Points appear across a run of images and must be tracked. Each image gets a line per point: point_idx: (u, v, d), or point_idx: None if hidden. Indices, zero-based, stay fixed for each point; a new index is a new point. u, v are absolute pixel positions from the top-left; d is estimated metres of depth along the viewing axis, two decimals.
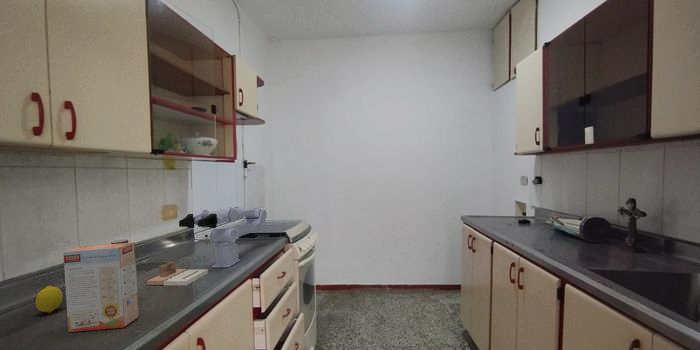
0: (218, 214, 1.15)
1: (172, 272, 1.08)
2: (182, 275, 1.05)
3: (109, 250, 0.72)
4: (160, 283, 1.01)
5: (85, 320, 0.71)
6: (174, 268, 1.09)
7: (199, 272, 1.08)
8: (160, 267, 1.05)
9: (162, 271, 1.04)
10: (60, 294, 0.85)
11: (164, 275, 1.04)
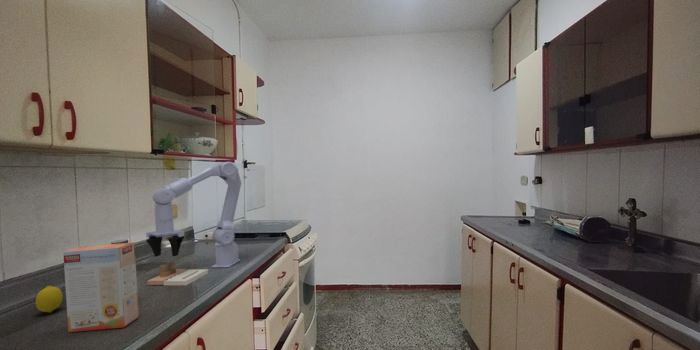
0: (166, 220, 1.05)
1: (172, 272, 1.08)
2: (182, 275, 1.05)
3: (109, 250, 0.72)
4: (160, 283, 1.01)
5: (85, 320, 0.71)
6: (174, 268, 1.09)
7: (199, 272, 1.08)
8: (160, 267, 1.05)
9: (162, 271, 1.04)
10: (60, 294, 0.85)
11: (164, 275, 1.04)
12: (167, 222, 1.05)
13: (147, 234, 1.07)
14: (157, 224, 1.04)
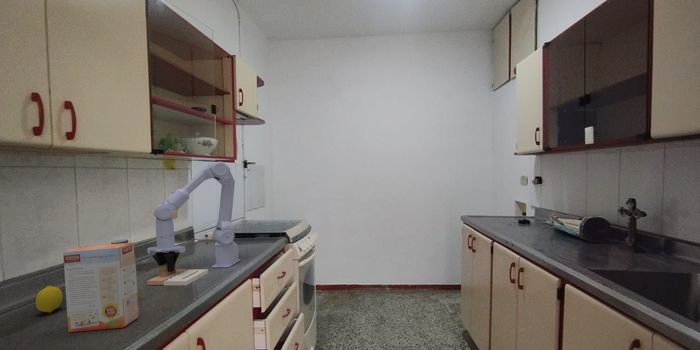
0: (167, 236, 1.05)
1: (172, 272, 1.08)
2: (182, 275, 1.05)
3: (109, 250, 0.72)
4: (160, 283, 1.01)
5: (85, 320, 0.71)
6: (174, 268, 1.09)
7: (199, 272, 1.08)
8: (160, 267, 1.05)
9: (162, 271, 1.04)
10: (60, 294, 0.85)
11: (164, 275, 1.04)
12: (168, 238, 1.05)
13: (148, 250, 1.07)
14: (158, 240, 1.04)
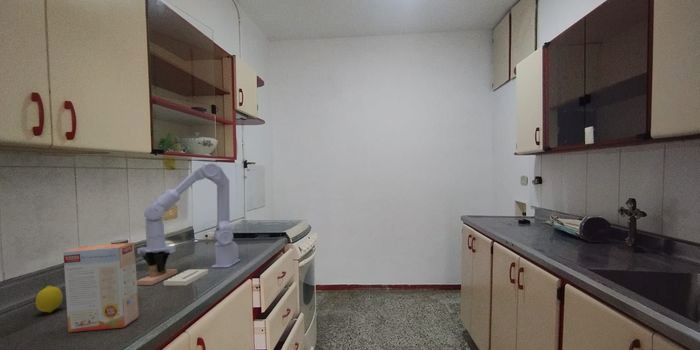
0: (157, 237, 1.06)
1: (162, 272, 1.08)
2: (182, 275, 1.05)
3: (109, 250, 0.72)
4: (149, 283, 1.01)
5: (85, 320, 0.71)
6: None
7: (199, 272, 1.08)
8: (150, 267, 1.05)
9: (152, 271, 1.05)
10: (60, 294, 0.85)
11: (154, 275, 1.05)
12: (158, 238, 1.06)
13: (138, 250, 1.07)
14: (148, 240, 1.05)
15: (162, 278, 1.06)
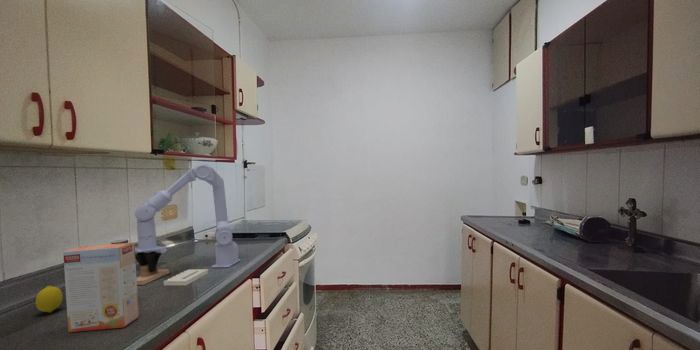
0: (148, 237, 1.06)
1: (154, 272, 1.09)
2: (182, 275, 1.05)
3: (109, 250, 0.72)
4: (140, 283, 1.02)
5: (85, 320, 0.71)
6: (156, 268, 1.10)
7: (199, 272, 1.08)
8: (141, 267, 1.06)
9: (143, 271, 1.06)
10: (60, 294, 0.85)
11: (145, 275, 1.06)
12: (149, 239, 1.06)
13: None
14: (139, 241, 1.05)
15: (153, 278, 1.06)
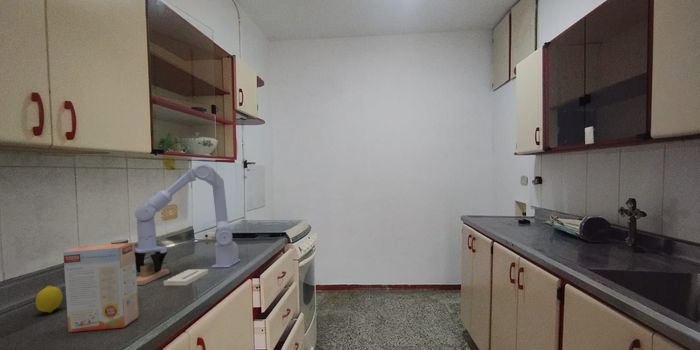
0: (148, 237, 1.06)
1: (153, 272, 1.09)
2: (182, 275, 1.05)
3: (109, 250, 0.72)
4: (140, 283, 1.02)
5: (85, 320, 0.71)
6: None
7: (199, 272, 1.08)
8: (141, 267, 1.06)
9: (143, 271, 1.06)
10: (60, 294, 0.85)
11: (145, 275, 1.06)
12: (149, 239, 1.06)
13: None
14: (139, 241, 1.05)
15: (153, 278, 1.06)
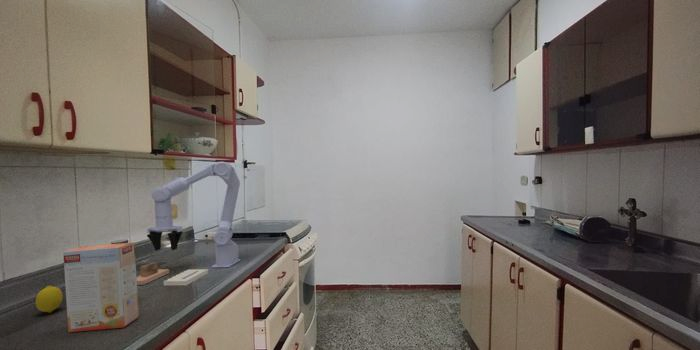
0: (165, 217, 1.13)
1: (153, 272, 1.09)
2: (182, 275, 1.05)
3: (109, 250, 0.72)
4: (140, 283, 1.02)
5: (85, 320, 0.71)
6: (156, 268, 1.10)
7: (199, 272, 1.08)
8: (141, 267, 1.06)
9: (143, 271, 1.06)
10: (60, 294, 0.85)
11: (145, 275, 1.06)
12: (166, 218, 1.13)
13: (148, 229, 1.15)
14: (157, 220, 1.12)
15: (153, 278, 1.06)
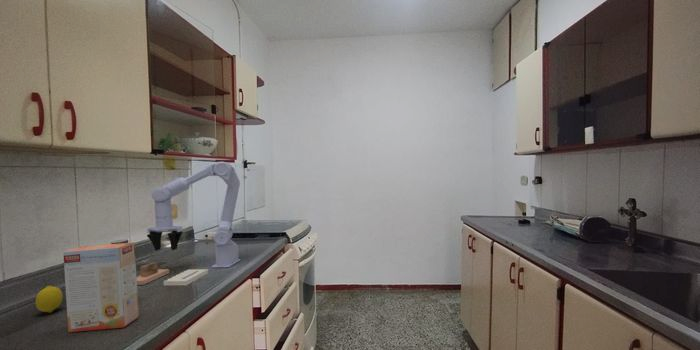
0: (165, 217, 1.13)
1: (153, 272, 1.09)
2: (182, 275, 1.05)
3: (109, 250, 0.72)
4: (140, 283, 1.02)
5: (85, 320, 0.71)
6: (156, 268, 1.10)
7: (199, 272, 1.08)
8: (141, 267, 1.06)
9: (143, 271, 1.06)
10: (60, 294, 0.85)
11: (145, 275, 1.06)
12: (166, 218, 1.13)
13: (148, 229, 1.15)
14: (157, 220, 1.12)
15: (153, 278, 1.06)
